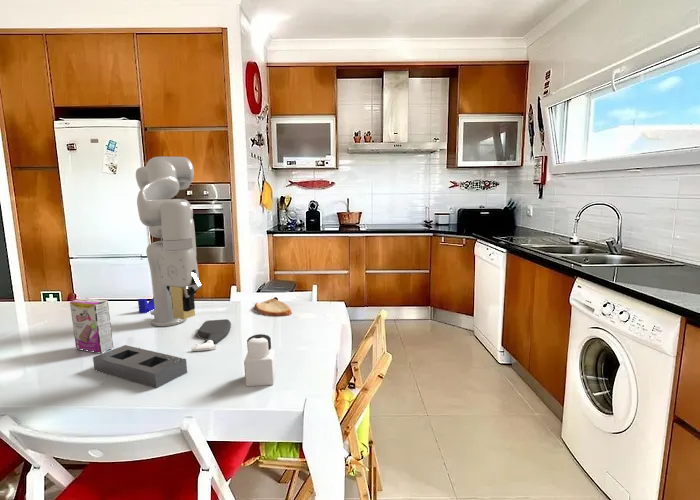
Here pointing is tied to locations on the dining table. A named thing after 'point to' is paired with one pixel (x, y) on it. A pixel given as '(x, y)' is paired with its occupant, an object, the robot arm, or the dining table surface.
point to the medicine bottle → (259, 361)
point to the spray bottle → (212, 333)
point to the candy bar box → (91, 324)
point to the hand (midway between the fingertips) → (183, 308)
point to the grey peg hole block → (140, 365)
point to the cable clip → (145, 305)
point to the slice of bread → (273, 308)
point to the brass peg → (180, 304)
